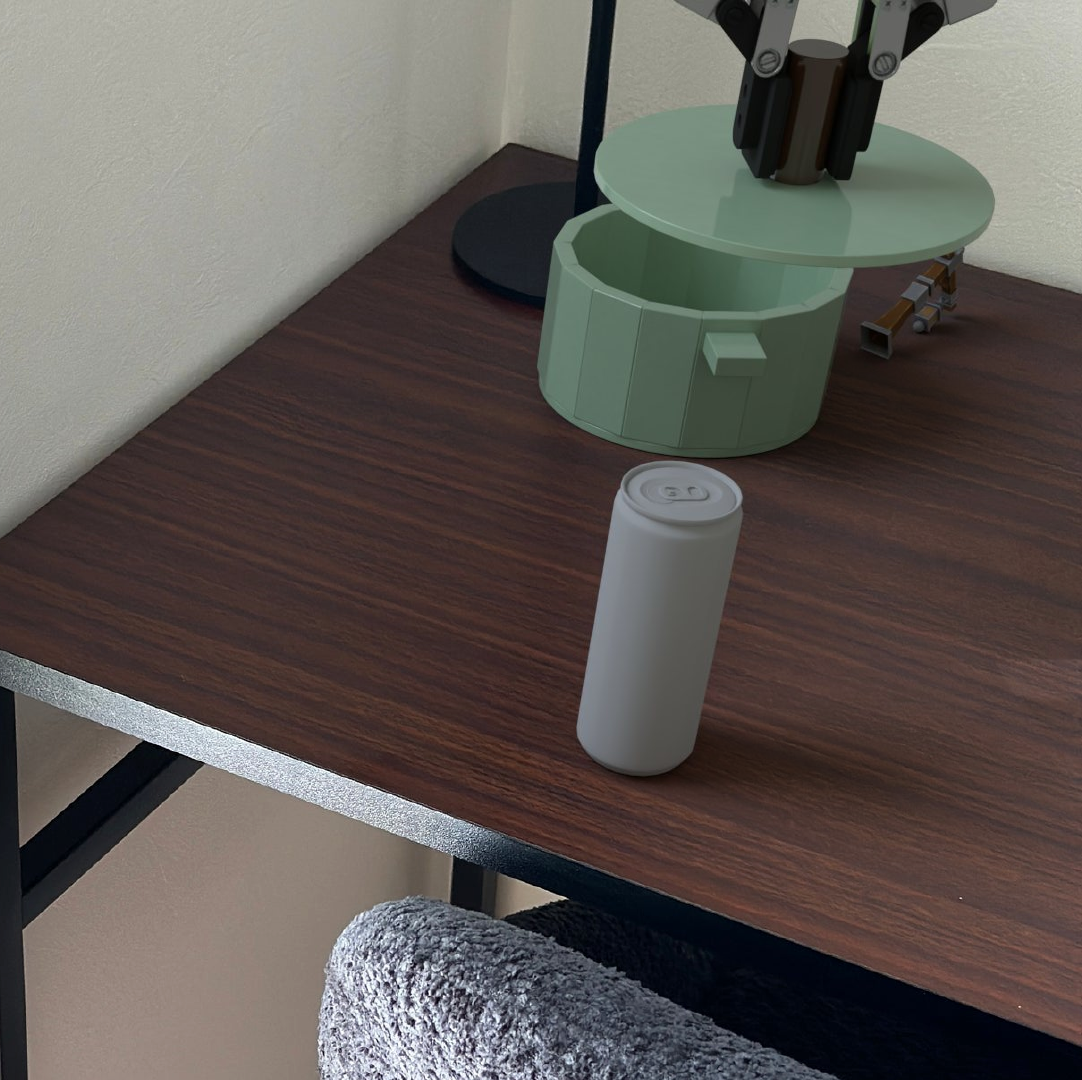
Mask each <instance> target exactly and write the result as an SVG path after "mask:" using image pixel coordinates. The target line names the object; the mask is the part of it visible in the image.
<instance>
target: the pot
mask: <svg viewBox="0 0 1082 1080" xmlns="http://www.w3.org/2000/svg"><path fill="white" fill-rule="evenodd" d="M854 269H855V268H832V267H811V266H800V265H790V264H781V263H775V262H768V261H761V260H755V259H750V258H745V257H740V256H735V255H730V254H726V253H722V252H719V251H715V250H711V249H707V248H703V247H700V246H697V245H694V244H691V243H688V242H685V241H682V240H679V239H676V238H674V237H671V236H669V235H666V234H664V233H661V232H659V231H657V230H655V229H653V228H651V227H649V226H647V225H645V224H643V223H641V222H639V221H637V220H636V219H634V218H632V217H631V216H629V215H627V214H626V213H624V212H623V211H622V210H620V209H619V208H618V207H617V206H615V205H614V204H613V203H612V202H611V203H607V204H601V205H599V206H597V207H594V208H592V209H590V210H588V211H586V212H584V213H581V214H579V215H576V216H575V217H573V218H570V219H568V220H567V221H566V222H565V224H564V225H563V226H562V228H561V230H560V231H559V233H558V234H557V236H556V237H555V239H553V243H552V251H551V259H550V266H549V274H548V280H547V282H548V283H547V289H546V294H545V295H546V297H545V302H544V303H545V304H544V312H543V318H542V326H541V335H540V340H539V349H538V356H537V362H536V363H537V364H536V368H537V371H538V378H537V380H538V387H539V389H540V392H541V394H542V396H543V398H544V399H545V401H546V402H547V403H548V405H549V406H550V407H551V408H552V409H553V410H554V411H555V412H556V413H557V414H558V415H559V416H561V417H562V418H564V419H565V420H566V421H568V422H569V423H571V424H572V425H573V426H575V427H578V429H581V430H583V431H585V432H587V433H589V434H591V435H593V436H595V437H597V438H600V439H603V440H606V441H609V442H611V443H614V444H617V445H621V446H624V447H628V448H631V449H635V450H638V451H644V452H646V453H647V452H648V453H653V454H658V455H666V456H673V457H682V458H698V459H699V458H700V459H716V458H717V459H719V458H721V459H722V458H734V457H736V458H737V457H744V456H749V455H750V456H752V455H756V454H757V455H758V454H761V453H765V452H769V451H772V450H773V451H774V450H776V449H779V448H782V447H785V446H788V445H790V444H791V443H793V442H795V441H797V440H799V439H800V438H802V437H803V436H804V435H806V434H807V433H808V432H809V431H810V430H811V429H812V428H813V427H814V426H815V425H816V422H817V421H818V419H819V417H820V414H821V409H822V406H823V403H824V400H825V397H826V394H827V390H828V385H829V382H830V381H829V380H830V377H831V372H832V368H833V363H834V361H835V360H834V359H835V356H836V351H837V348H838V347H837V346H838V342H839V337H840V333H841V328H842V324H843V321H844V316H845V312H846V308H847V303H848V299H849V294H850V290H851V286H852V282H853V278H854V277H853V276H854V273H855V270H854Z"/></svg>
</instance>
